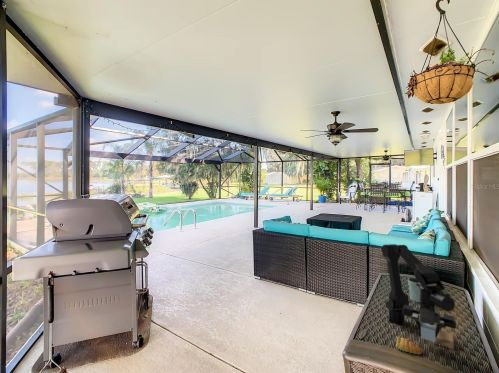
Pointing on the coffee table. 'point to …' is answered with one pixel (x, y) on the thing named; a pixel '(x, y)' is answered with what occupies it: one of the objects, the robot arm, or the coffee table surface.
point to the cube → (428, 332)
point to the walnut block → (444, 339)
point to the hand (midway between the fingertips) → (428, 334)
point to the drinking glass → (414, 289)
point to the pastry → (408, 346)
